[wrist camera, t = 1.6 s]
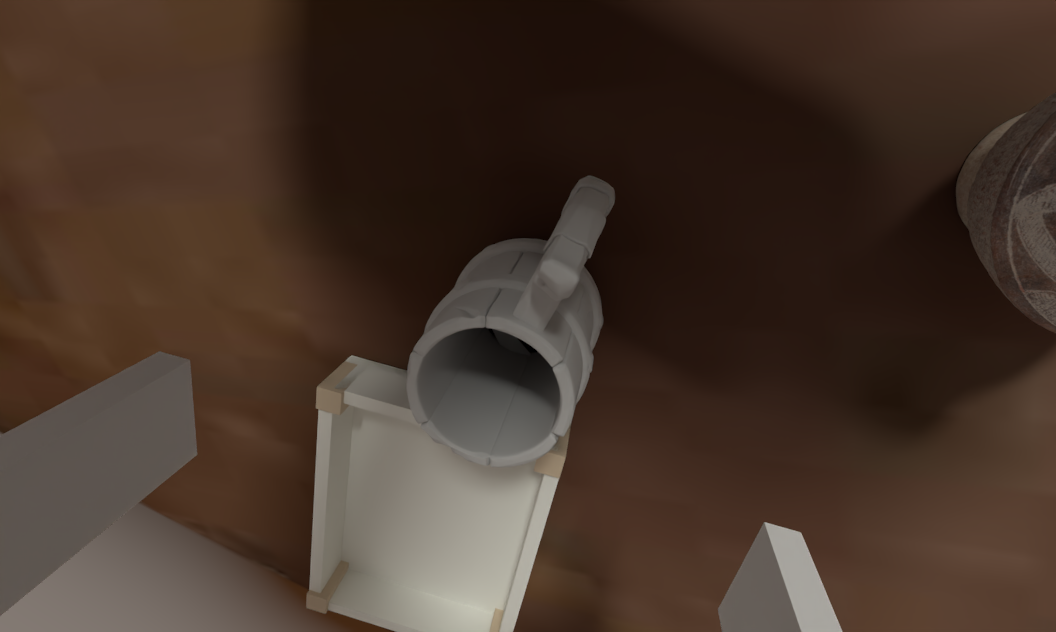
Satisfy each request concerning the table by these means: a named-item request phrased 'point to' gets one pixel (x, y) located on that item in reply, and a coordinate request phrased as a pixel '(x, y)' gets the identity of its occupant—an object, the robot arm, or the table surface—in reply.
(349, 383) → the crate
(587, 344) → the mug
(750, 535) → the table surface
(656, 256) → the table surface
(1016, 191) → the pottery
